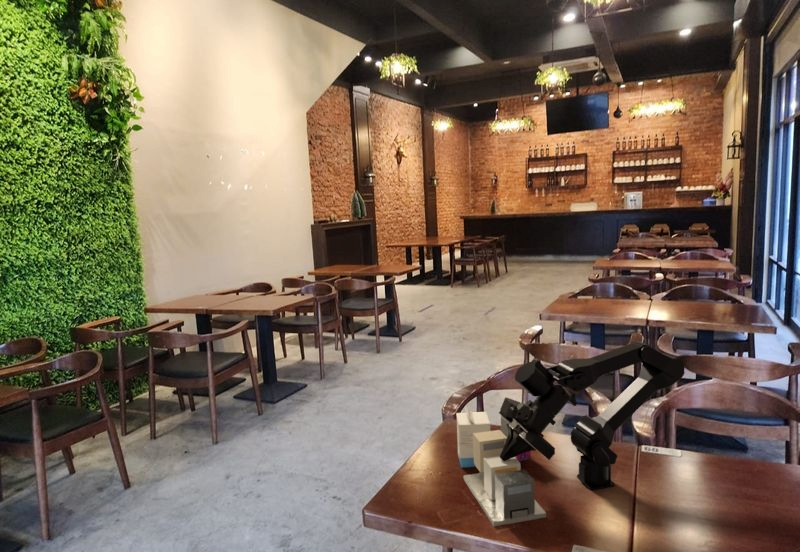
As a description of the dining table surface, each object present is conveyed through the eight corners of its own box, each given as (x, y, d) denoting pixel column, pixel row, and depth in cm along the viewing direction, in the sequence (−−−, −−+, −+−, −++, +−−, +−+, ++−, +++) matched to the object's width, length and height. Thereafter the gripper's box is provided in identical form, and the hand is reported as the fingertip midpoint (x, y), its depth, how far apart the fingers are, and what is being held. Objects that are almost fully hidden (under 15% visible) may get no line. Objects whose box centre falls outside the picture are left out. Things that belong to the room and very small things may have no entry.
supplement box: (514, 464, 136) (513, 422, 134) (500, 455, 141) (499, 415, 139) (531, 458, 138) (531, 417, 137) (517, 450, 143) (516, 410, 142)
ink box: (492, 466, 135) (491, 417, 133) (460, 468, 135) (458, 418, 134) (487, 451, 144) (486, 404, 142) (457, 452, 144) (455, 406, 142)
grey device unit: (508, 472, 132) (508, 439, 131) (546, 517, 112) (545, 479, 111) (463, 479, 130) (462, 445, 128) (493, 526, 110) (492, 487, 109)
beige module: (500, 459, 130) (499, 429, 129) (508, 468, 125) (507, 438, 124) (473, 463, 129) (472, 433, 128) (480, 473, 124) (479, 442, 123)
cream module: (512, 484, 123) (511, 453, 122) (521, 495, 119) (520, 463, 118) (484, 489, 122) (483, 457, 121) (492, 500, 117) (491, 468, 116)
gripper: (505, 374, 127) (464, 422, 127) (541, 401, 109) (492, 458, 108) (536, 401, 130) (495, 449, 129) (575, 431, 112) (528, 487, 111)
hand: (501, 459), depth 119 cm, fingers closed, pressing on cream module
